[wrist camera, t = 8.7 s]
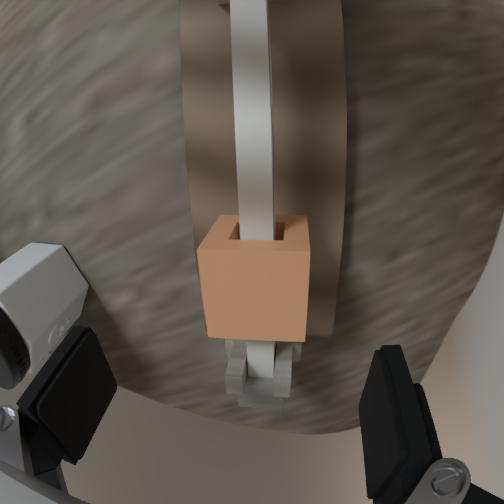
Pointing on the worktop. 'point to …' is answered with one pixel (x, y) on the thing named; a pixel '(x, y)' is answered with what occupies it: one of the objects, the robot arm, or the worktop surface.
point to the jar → (36, 306)
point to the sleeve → (256, 281)
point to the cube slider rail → (268, 150)
